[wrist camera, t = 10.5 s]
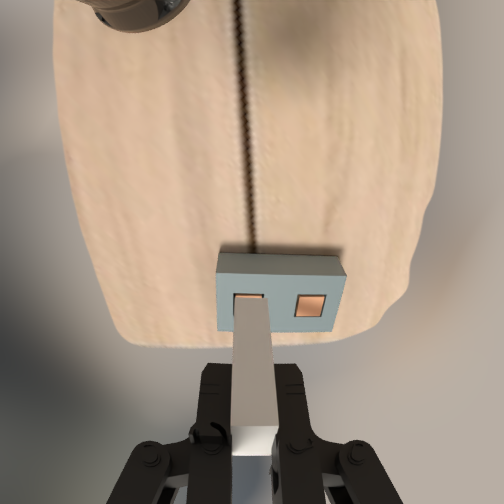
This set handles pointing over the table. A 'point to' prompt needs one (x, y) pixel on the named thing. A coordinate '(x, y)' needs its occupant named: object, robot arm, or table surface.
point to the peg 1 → (248, 295)
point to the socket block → (280, 288)
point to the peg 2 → (309, 304)
